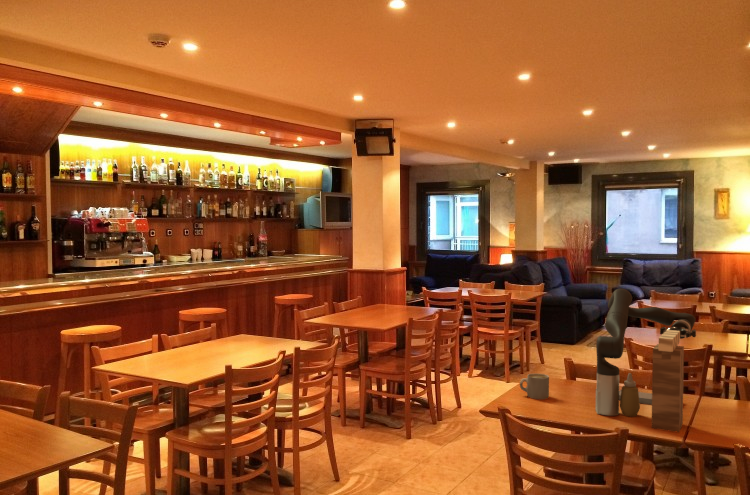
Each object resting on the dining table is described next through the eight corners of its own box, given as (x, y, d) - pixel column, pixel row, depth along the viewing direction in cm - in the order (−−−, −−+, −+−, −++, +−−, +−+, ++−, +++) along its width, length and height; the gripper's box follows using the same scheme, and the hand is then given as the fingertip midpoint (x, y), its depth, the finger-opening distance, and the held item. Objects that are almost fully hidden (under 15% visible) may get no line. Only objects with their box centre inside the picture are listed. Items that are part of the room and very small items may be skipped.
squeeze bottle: (634, 412, 275) (635, 371, 275) (643, 417, 267) (643, 375, 267) (616, 412, 275) (616, 371, 274) (624, 417, 267) (624, 375, 266)
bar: (672, 351, 246) (672, 339, 246) (658, 350, 249) (658, 337, 248) (679, 342, 266) (680, 330, 266) (666, 341, 269) (667, 329, 269)
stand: (679, 432, 248) (680, 351, 247) (651, 427, 253) (652, 348, 252) (682, 424, 258) (683, 346, 257) (656, 420, 264) (657, 344, 263)
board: (616, 399, 295) (616, 394, 295) (620, 394, 304) (620, 389, 304) (677, 408, 281) (677, 402, 281) (680, 402, 291) (680, 397, 290)
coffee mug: (550, 395, 303) (551, 374, 303) (546, 400, 294) (546, 379, 294) (523, 391, 309) (523, 371, 309) (517, 396, 300) (517, 375, 300)
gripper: (698, 338, 284) (694, 344, 270) (663, 335, 292) (658, 341, 278) (698, 322, 284) (694, 327, 270) (663, 319, 291) (658, 324, 278)
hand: (676, 334), depth 274 cm, fingers open, 8 cm apart
